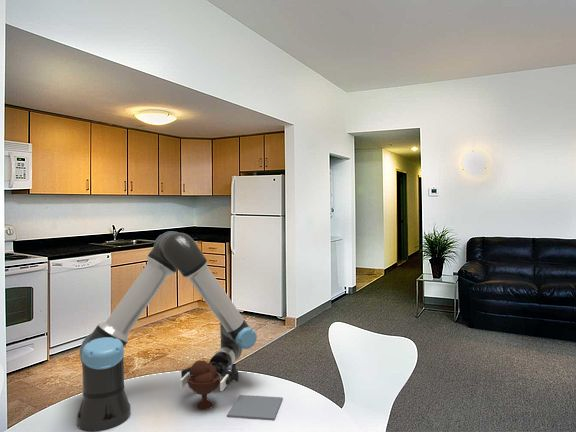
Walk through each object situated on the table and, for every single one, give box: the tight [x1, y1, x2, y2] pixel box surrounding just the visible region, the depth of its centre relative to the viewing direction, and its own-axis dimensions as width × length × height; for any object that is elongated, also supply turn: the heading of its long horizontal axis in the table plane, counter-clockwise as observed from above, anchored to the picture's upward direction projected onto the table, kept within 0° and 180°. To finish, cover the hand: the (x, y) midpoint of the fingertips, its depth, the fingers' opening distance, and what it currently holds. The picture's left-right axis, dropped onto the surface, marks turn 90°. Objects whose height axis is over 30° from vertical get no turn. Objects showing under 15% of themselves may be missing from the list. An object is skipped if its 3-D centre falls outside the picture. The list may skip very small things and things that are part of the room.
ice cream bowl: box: [187, 360, 222, 411], centre depth 132 cm, size 11×11×15 cm
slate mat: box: [226, 394, 284, 421], centre depth 130 cm, size 15×14×1 cm
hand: (200, 385), depth 129 cm, fingers open, 13 cm apart
